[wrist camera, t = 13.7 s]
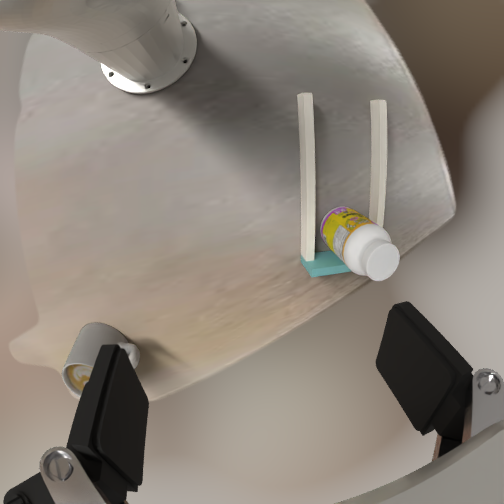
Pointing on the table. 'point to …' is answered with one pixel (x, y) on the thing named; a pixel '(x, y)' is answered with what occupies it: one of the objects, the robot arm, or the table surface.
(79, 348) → the coffee mug
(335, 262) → the guide track
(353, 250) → the supplement bottle
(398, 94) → the table surface
